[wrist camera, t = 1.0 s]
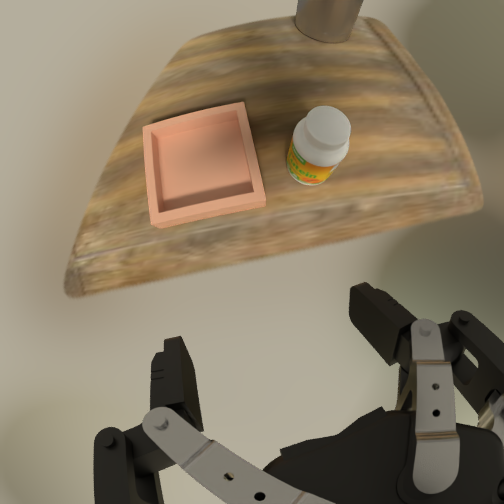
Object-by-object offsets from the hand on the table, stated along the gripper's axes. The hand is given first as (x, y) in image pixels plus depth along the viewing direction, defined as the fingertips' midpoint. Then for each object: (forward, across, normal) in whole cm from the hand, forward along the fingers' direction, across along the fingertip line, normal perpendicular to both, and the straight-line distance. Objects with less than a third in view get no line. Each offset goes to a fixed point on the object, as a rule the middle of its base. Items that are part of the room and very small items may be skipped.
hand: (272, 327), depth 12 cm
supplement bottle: (+20, -12, -3) cm, 23 cm away
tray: (+23, 0, -5) cm, 23 cm away
